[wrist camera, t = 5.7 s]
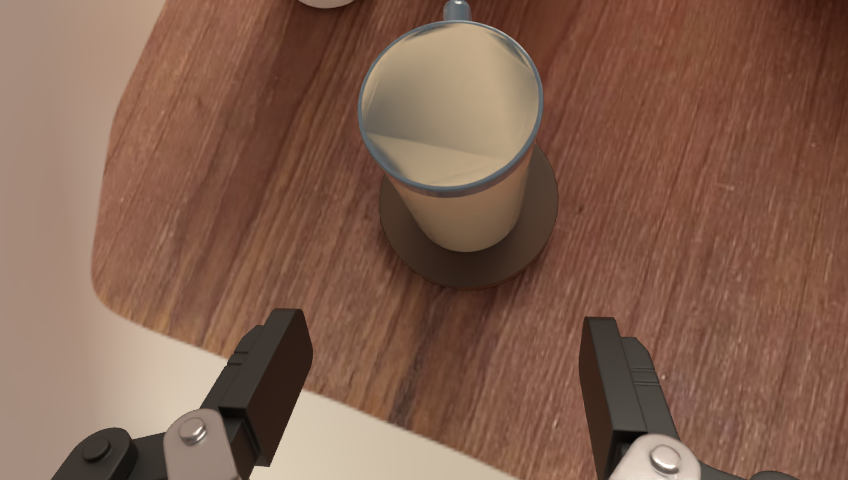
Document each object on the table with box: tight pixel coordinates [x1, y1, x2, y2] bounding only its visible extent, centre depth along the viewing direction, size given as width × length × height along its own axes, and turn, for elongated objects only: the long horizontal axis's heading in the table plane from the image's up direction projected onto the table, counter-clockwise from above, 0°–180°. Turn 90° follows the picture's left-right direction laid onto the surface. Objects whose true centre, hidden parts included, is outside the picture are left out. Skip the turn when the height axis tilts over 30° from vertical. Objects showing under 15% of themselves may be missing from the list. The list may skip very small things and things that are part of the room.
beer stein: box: [357, 0, 544, 252], centre depth 22 cm, size 6×9×11 cm
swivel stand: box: [379, 143, 558, 291], centre depth 28 cm, size 10×10×2 cm
